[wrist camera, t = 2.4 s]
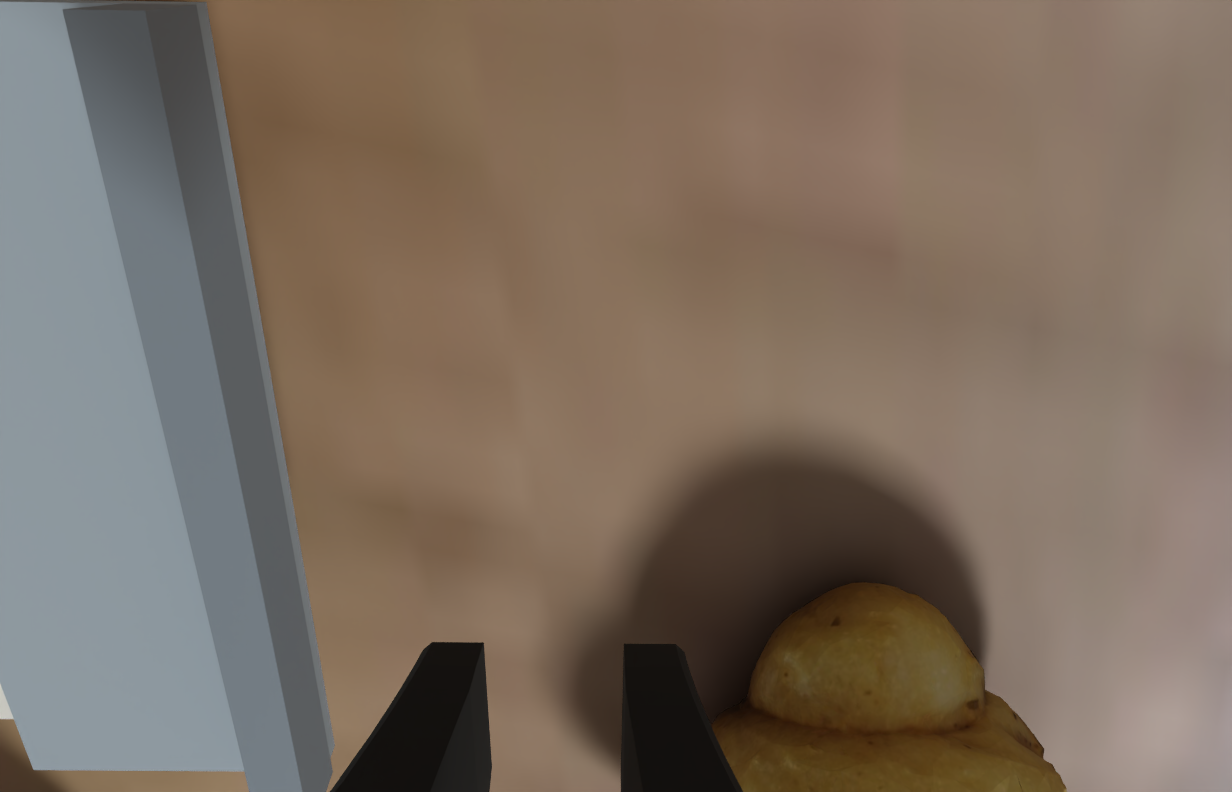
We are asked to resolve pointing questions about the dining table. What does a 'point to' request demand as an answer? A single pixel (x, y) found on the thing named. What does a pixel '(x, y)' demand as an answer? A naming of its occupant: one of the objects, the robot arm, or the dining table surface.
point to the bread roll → (876, 706)
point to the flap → (141, 417)
